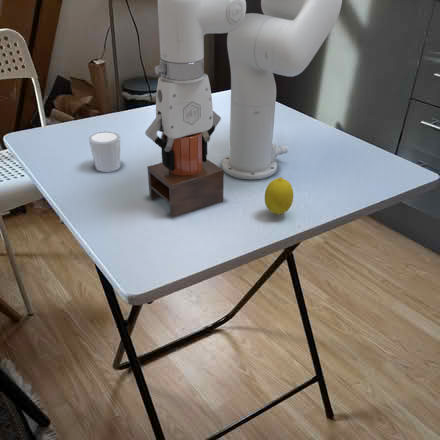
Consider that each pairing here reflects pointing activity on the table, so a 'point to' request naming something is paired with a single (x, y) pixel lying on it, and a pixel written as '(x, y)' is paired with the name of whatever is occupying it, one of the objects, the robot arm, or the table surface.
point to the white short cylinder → (105, 150)
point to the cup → (187, 155)
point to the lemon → (279, 196)
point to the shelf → (187, 187)
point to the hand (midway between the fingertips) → (185, 163)
